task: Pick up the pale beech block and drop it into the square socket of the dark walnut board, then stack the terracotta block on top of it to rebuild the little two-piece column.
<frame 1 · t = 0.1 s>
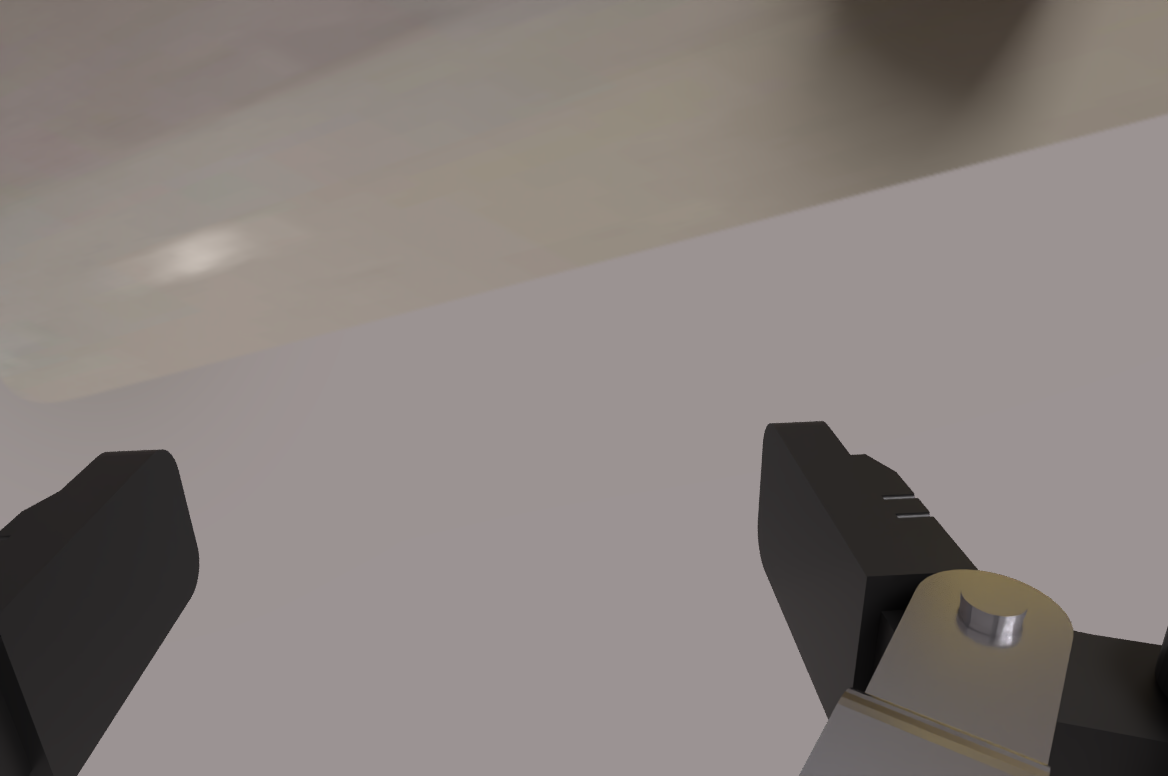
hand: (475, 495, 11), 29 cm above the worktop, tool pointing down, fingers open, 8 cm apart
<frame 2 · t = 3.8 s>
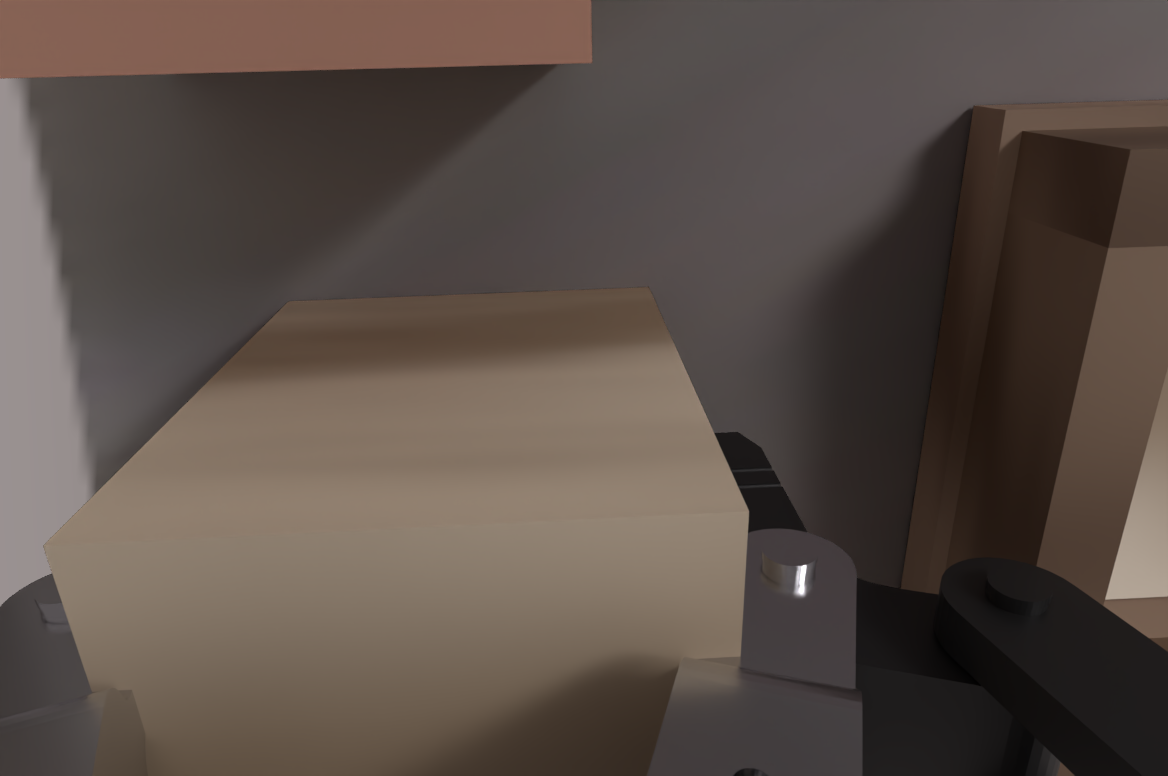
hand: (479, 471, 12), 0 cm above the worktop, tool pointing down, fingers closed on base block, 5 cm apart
base block: (483, 453, 12), on the worktop, touching gripper
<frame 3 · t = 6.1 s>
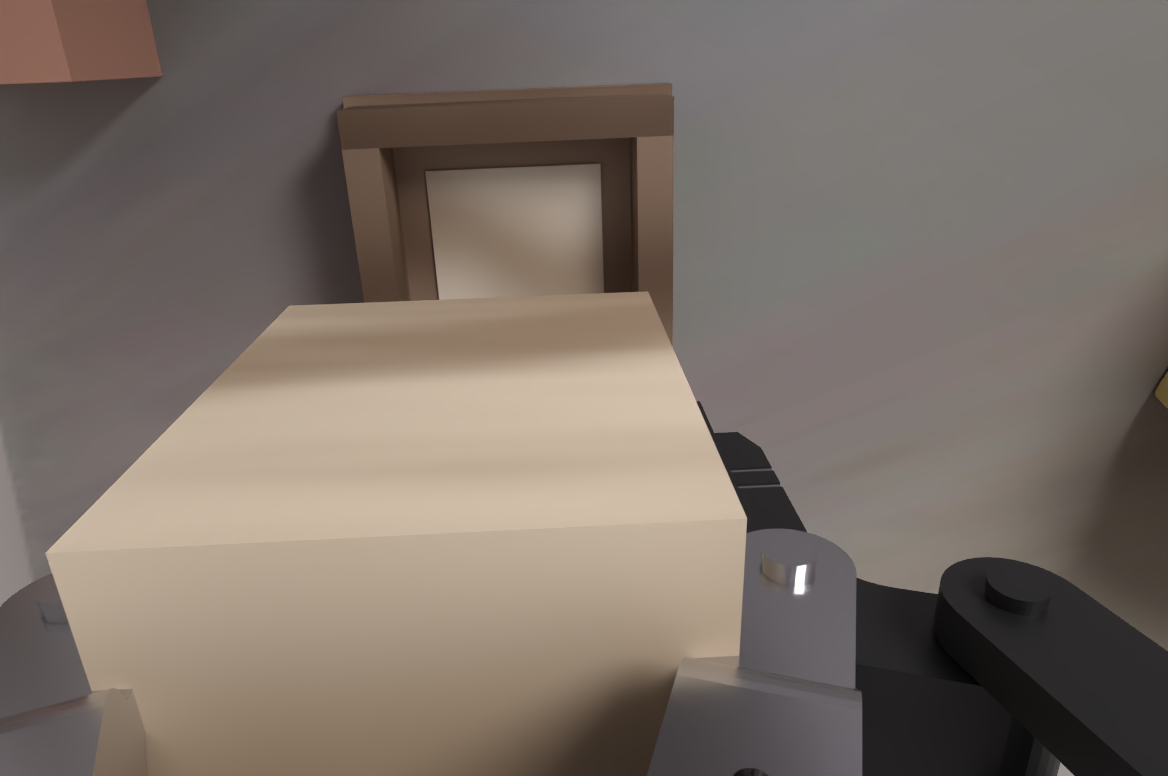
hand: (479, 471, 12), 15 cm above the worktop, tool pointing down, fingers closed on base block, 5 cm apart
base block: (483, 457, 12), point 15 cm above the worktop, touching gripper
socket board: (519, 247, 26), on the worktop
when the fingers open (4 cm above the worktop, at t = 8.7 s): base block drops 2 cm, resting on socket board.
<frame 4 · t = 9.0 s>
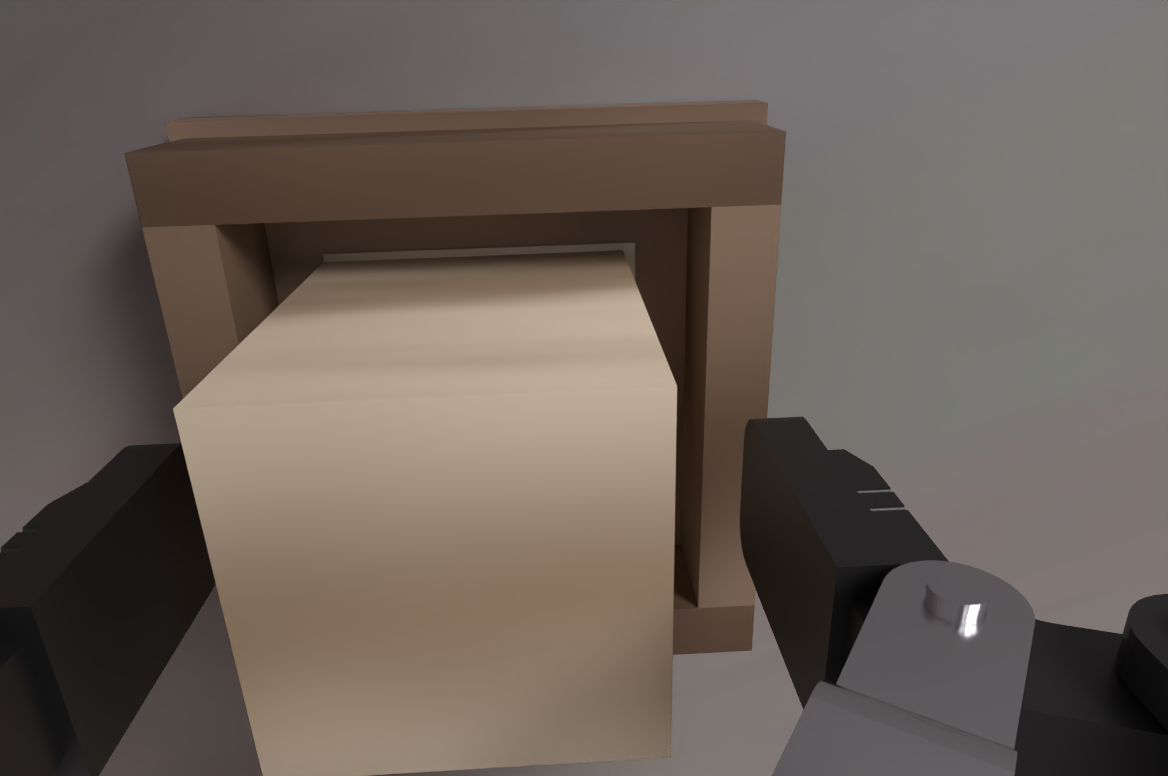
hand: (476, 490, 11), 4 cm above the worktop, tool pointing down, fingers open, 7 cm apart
base block: (485, 393, 15), point 1 cm above the worktop, touching socket board
socket board: (493, 373, 15), on the worktop
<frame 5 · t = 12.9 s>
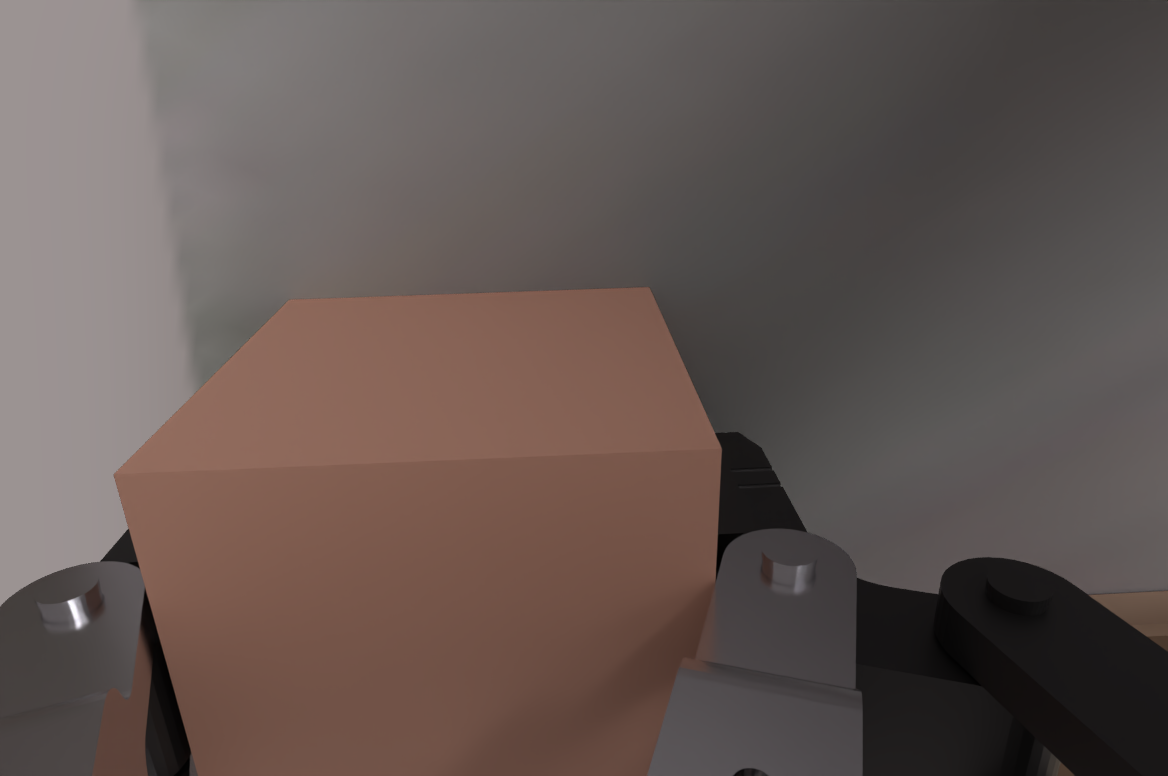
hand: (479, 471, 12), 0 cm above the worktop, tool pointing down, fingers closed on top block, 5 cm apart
top block: (483, 453, 12), on the worktop, touching gripper
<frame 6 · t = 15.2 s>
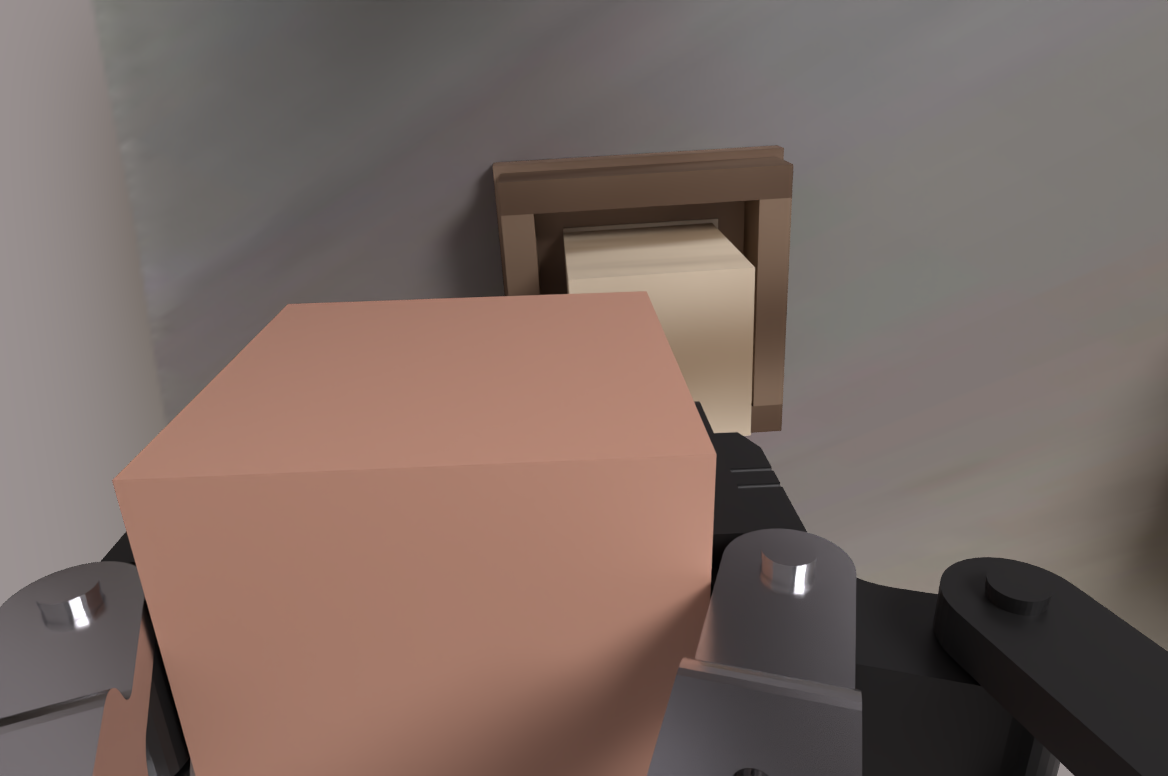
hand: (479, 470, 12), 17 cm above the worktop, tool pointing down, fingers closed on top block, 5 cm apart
base block: (639, 299, 28), point 1 cm above the worktop, touching socket board
top block: (481, 456, 12), point 17 cm above the worktop, touching gripper
socket board: (639, 291, 29), on the worktop
when the fingers open (9 cm above the worktop, at t = 17.6 s): top block drops 1 cm, resting on base block.
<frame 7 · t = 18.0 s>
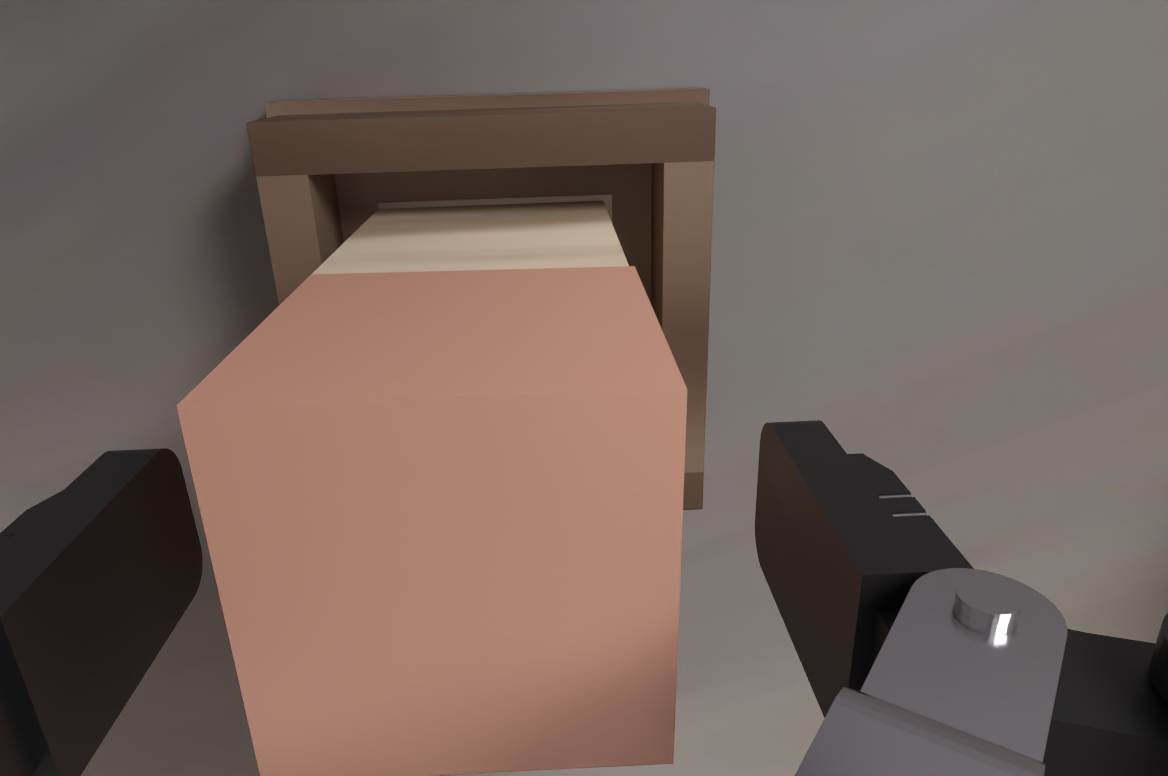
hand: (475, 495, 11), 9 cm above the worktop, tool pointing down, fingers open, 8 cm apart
base block: (498, 312, 19), point 1 cm above the worktop, touching socket board, top block
top block: (484, 416, 14), point 7 cm above the worktop, touching base block
socket board: (504, 299, 20), on the worktop
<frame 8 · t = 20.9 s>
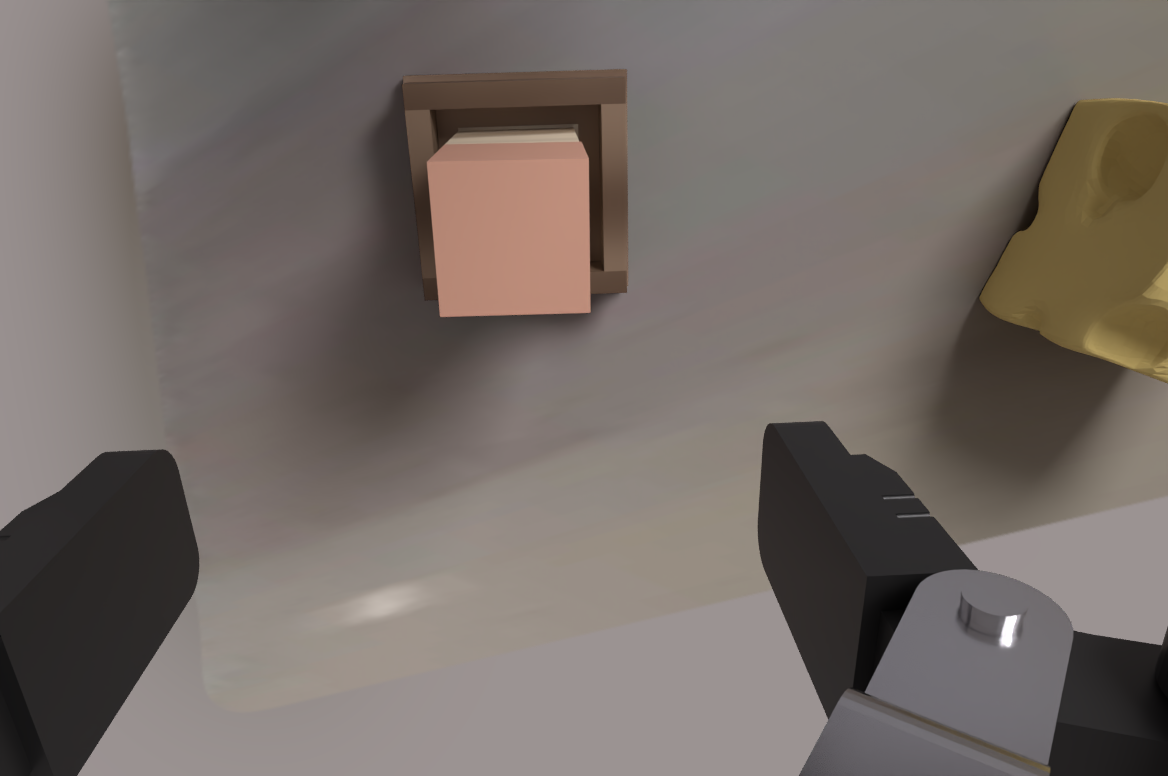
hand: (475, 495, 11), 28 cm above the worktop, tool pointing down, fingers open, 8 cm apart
cheese: (1112, 225, 39), on the worktop
base block: (519, 187, 36), point 1 cm above the worktop, touching socket board, top block
top block: (516, 211, 31), point 7 cm above the worktop, touching base block
socket board: (522, 184, 37), on the worktop
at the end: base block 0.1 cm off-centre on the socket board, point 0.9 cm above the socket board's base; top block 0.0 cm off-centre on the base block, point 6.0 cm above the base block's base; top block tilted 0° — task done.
